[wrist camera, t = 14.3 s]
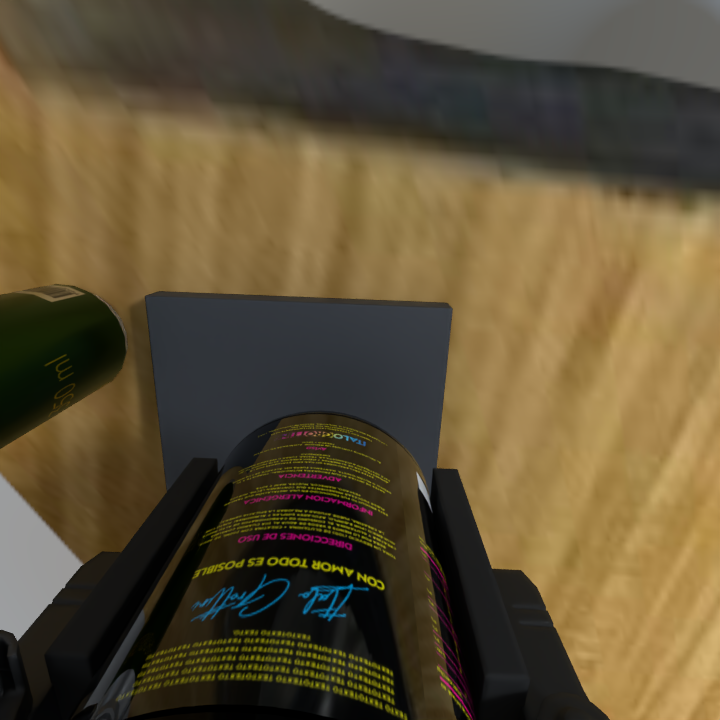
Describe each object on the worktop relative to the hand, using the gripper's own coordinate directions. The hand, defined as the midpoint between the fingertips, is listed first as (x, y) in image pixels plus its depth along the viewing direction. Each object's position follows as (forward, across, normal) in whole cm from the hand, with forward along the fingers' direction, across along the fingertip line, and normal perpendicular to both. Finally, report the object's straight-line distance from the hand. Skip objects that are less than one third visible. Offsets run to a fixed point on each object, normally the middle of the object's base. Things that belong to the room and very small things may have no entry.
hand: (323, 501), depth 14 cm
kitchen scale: (+9, -2, -3) cm, 10 cm away
